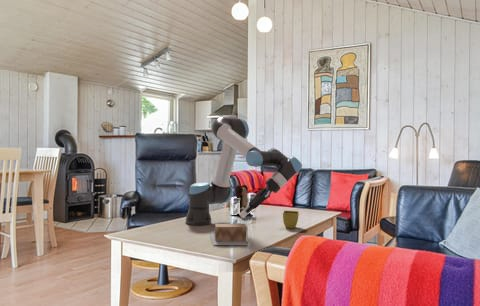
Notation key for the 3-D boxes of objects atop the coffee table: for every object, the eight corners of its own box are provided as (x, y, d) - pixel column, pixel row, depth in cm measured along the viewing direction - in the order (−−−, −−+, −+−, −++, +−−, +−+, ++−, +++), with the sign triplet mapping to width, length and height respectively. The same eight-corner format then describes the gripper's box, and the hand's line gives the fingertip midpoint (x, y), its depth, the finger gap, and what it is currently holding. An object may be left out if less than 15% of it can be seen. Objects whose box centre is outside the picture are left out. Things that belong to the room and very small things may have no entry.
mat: (213, 246, 174) (213, 244, 174) (210, 236, 191) (210, 235, 191) (246, 245, 176) (246, 244, 176) (240, 236, 194) (240, 235, 194)
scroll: (244, 217, 248) (245, 186, 247) (225, 214, 255) (226, 185, 255) (255, 214, 260) (256, 185, 260) (237, 212, 268) (238, 183, 268)
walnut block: (247, 241, 182) (215, 241, 179) (244, 237, 189) (214, 238, 186) (247, 226, 182) (216, 226, 179) (245, 223, 189) (215, 223, 186)
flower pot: (297, 229, 215) (298, 213, 215) (282, 228, 217) (282, 212, 217) (298, 226, 224) (299, 211, 224) (283, 225, 226) (284, 210, 226)
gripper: (284, 189, 181) (248, 224, 179) (277, 186, 194) (243, 219, 191) (273, 178, 180) (237, 213, 178) (267, 175, 193) (233, 208, 190)
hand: (240, 216), depth 184 cm, fingers closed
